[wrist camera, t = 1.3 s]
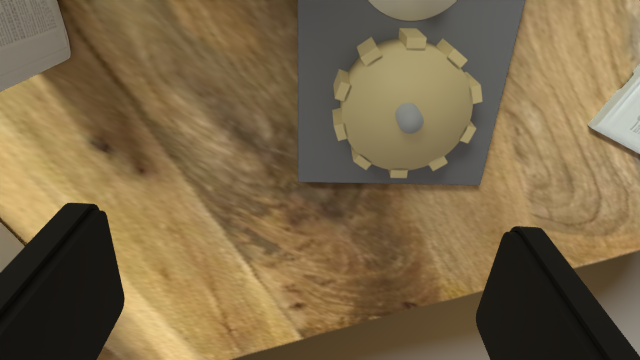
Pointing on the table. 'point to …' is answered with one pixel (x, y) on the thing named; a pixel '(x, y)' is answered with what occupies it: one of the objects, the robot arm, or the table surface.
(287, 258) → the table surface
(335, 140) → the gear board
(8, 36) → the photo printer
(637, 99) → the external hard drive
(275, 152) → the table surface
